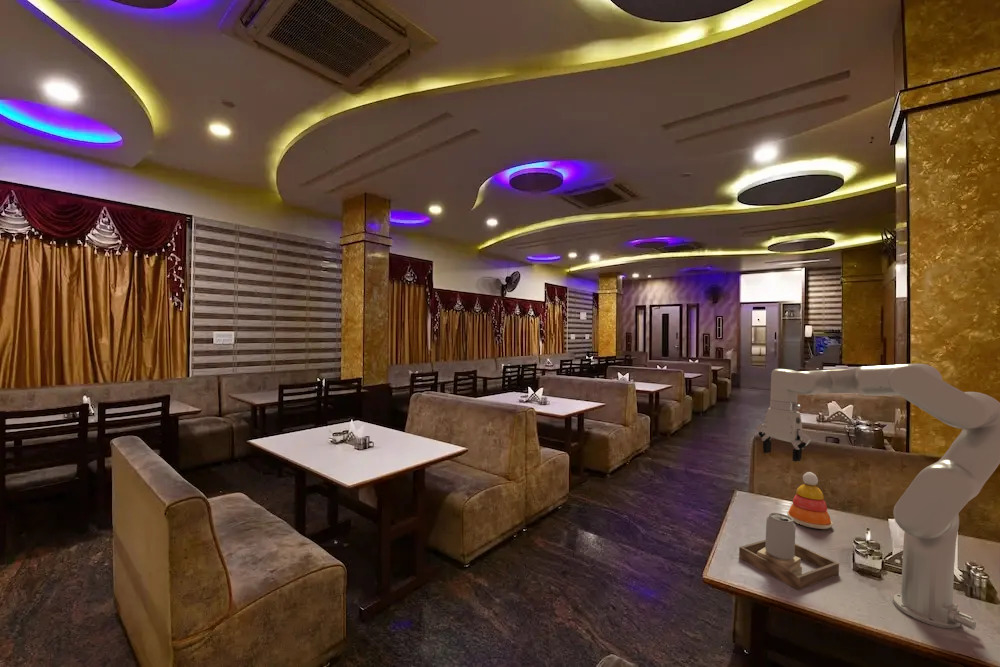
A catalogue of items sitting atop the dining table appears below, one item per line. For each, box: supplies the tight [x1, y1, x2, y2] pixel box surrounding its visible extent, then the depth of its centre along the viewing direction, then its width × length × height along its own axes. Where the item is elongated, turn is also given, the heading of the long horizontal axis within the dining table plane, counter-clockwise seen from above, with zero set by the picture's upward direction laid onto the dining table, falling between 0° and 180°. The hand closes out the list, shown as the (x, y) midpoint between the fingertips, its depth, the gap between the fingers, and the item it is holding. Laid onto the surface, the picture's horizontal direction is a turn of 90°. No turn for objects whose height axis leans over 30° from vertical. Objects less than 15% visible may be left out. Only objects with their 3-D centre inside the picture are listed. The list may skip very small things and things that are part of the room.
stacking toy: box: [786, 471, 834, 530], centre depth 163 cm, size 14×14×20 cm
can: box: [765, 512, 797, 560], centre depth 130 cm, size 8×8×12 cm
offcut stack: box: [757, 547, 803, 576], centre depth 130 cm, size 10×9×4 cm
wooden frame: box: [738, 539, 840, 591], centre depth 132 cm, size 18×20×4 cm
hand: (781, 456), depth 142 cm, fingers open, 9 cm apart
